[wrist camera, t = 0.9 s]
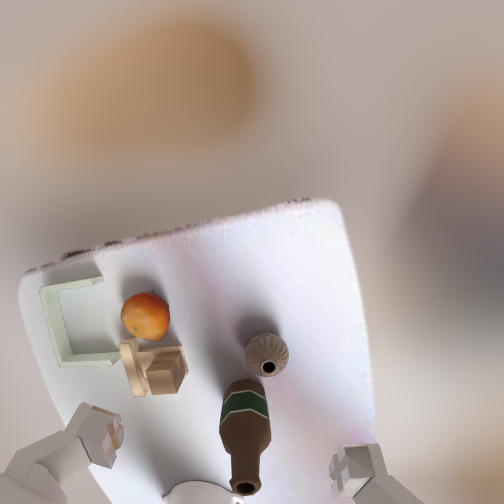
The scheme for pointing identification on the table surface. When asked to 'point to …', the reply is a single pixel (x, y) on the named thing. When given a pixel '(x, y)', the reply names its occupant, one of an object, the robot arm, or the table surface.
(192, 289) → the table surface
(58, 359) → the tray
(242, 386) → the beer bottle
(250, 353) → the vase
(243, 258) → the table surface
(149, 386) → the angled wooden block structure
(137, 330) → the fruit
